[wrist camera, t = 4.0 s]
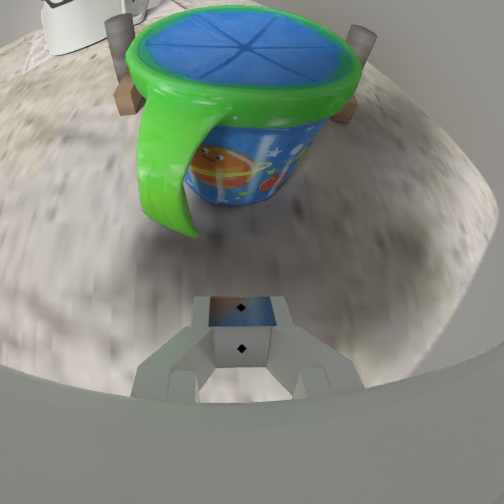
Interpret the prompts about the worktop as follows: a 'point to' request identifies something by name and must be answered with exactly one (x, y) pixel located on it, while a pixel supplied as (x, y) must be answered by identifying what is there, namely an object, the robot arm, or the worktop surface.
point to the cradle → (130, 98)
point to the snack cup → (231, 104)
